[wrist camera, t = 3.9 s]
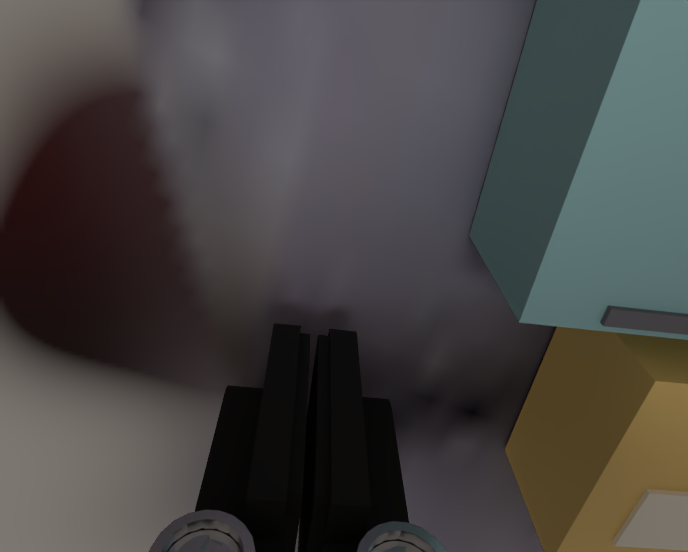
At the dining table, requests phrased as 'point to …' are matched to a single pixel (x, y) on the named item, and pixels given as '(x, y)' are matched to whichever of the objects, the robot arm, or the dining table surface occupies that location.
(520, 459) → the yellow labeled box
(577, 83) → the teal labeled router
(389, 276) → the dining table surface
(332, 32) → the dining table surface
